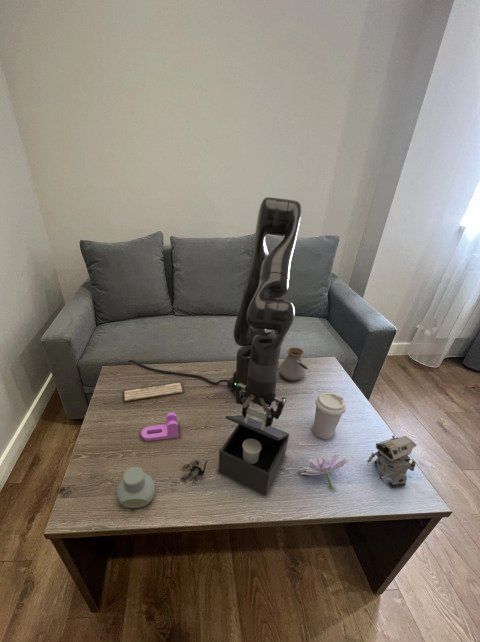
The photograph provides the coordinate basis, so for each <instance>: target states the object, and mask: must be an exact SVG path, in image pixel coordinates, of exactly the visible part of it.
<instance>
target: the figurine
mask: <svg viewBox="0 0 480 642" xmlns="http://www.w3.org/2000/svg"><path fill="white" fill-rule="evenodd" d="M416 447H417V444H416V442H414V441H413V440H412V439H411V438H410V437H408V436H407V435H402V436H399V437H395V435H392V436H391V438H388V439H385V440H382V441H379V442H376V443H375V449H376V450H377V451H376V452H375V453H374V452H371V453H370V456H369V457H368V460H367V461H366V463H367V465H368V464H370V462H372V460H373V459H374V458H375V457H377V458H376V459H375V460H374V461H373V463H374V465H375V466H376V467H377V468H378V470H379V472H380V473H381V474H382V475H383V476H380V477H378V479H377V481H380V482H382V483H385V482H386V480H387V479H389V480H391V481H389V482H388V485H389V486H390V488H391V489H392V488H400V487H401V488H402V487H405V486H406V485H407V483H406V482H407V480H408V476H407V472H408V471H409V470H410V471H411V472H413V471H415V467H416V465H417V463H416V461H415V460H414V459H411V457H410V456H409V455H410V454H412V451H413V449H414V448H416ZM410 461H411V462H410Z"/></svg>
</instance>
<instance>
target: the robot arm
mask: <svg viewBox="0 0 480 642" xmlns="http://www.w3.org/2000/svg"><path fill="white" fill-rule="evenodd" d="M301 218H302V204H301V203H300V202H299V201H298V200H293V199H288V198H280V197H272V196H271V197H269V196H266V197H264V198H263V199H262V201H261V202H260V205H259V209H258V213H257V219H256V226H255V233H254V239H253V246H252V252H251V257H250V261H249V265H248V269H247V273H246V277H245V283H244V286H243V287H244V288H243V294H242V299H241V303H240V308H239V310H238V314H237V316H236V319H235V323H234V325H233V340H234V342H235V344H236V345H238V346H240V347H239V348H238V349H237V350H236V360H235V361H236V362H235V371H234V372H233V374H232V377H230V378H229V379H220V380H218V381H212V380H210V379H208V378H207V377H205V376H202V375H200V374H199V375H198V374H192V373H186V372H185V373H184V372H176V371H170V370H163V369H157V368H153V367H151V366H147V365H144V364H141V363H139V362H137V361H136V360H133V359H129V360H128V361H127V363H134V364H135V365H137V366H139V367H142V368H145V369H147V370H150V371H154V372H157V373H164V374H168V375H169V374H170V375H177V376H186V377H193V378H199V379H202V380H204V381H206V382H207V383H209V384H211V385H219V384H220V383H226V387H227V388H228V389H230V390H232V392H233V393H234V395H235V403H236V404H237V405H241V415H243V417H244V418H245V417H246V414H247V413H246V411H247V409H248V407H249V408H250V404H254V405H258V406H260V407H262V409H263V412H264V413H265V414H267V418H266V423H265V424H266V425H265V426H266V427H268V426H272V424H273V422H274V419H275V420H278V419H280V416H281V415H282V413H283V411H284V408H285V406H286V402H287V398H286V397H279V396H277V394H276V390H277V382H278V377H279V367H280V357H281V350H282V346H283V342H284V340H285V338H286V336H287V334H288V332H289V331H290V328H291V326H292V325H293V322H294V320H295V317H296V309H295V308H296V307H295V306H294V304H293V303H292V302H291V301H290V300H287V299H281V298H283V297H285V296H286V295H287V294H288V291H289V286H290V274H291V264H292V259H293V255H294V251H295V247H296V242H297V238H298V234H299V229H300V226H301V225H300V224H301ZM268 235H270V236H277V237H283V238H282V239H281V241H280V242H278V244H277V245H276V246H275V247H273V249H272V250H271V251H270V252H269V250H268V246H267V245H268V243H267V236H268ZM267 330H269V331H268V332H267ZM274 402H275V407H276V410H275V407H274Z"/></svg>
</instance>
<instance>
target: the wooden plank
mask: <svg viewBox="0 0 480 642" xmlns="http://www.w3.org/2000/svg"><path fill="white" fill-rule="evenodd" d="M183 392H184V391H183V387H182V383H181V382H175V383H168V384H162V385H155V386H148V387H142V388H134V389H128V390H124V392H123V393H124V394H123V395H124V401H125V402H128V401H129V402H130V401H135V400H140V399H141V400H142V399H148V398H155V397H160V396H161V397H162V396H167V395H174V394H181V393H183Z"/></svg>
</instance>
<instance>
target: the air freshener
mask: <svg viewBox="0 0 480 642" xmlns="http://www.w3.org/2000/svg"><path fill="white" fill-rule="evenodd" d="M153 479H154V478H152V477H151V476H150V475H149V474H147V473H145V472H144V470H143V469H142V468H141V467H139V466H131V467H128V468H127V469H125V471H124V472H123V475H122V479H121V480H120V482H119V483H118V485H117V489H116V496H117V500H118V502H119V503H120V504H121V506H122V507H124V508H128V509H139V508H144V507H147V505H148V504H149V503H150V502H151V501H152V500H153V498H154V496H155V493H156V484H155V481H154V480H153Z"/></svg>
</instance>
